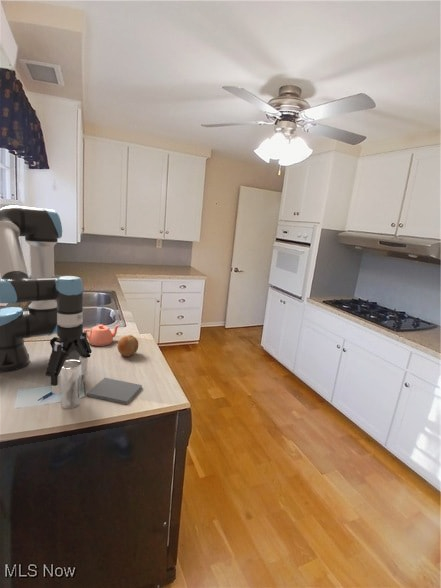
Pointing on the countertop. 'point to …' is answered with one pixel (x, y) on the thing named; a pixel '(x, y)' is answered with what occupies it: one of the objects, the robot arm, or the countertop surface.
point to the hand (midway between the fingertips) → (70, 383)
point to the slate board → (114, 390)
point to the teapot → (101, 335)
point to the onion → (128, 345)
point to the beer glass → (70, 383)
